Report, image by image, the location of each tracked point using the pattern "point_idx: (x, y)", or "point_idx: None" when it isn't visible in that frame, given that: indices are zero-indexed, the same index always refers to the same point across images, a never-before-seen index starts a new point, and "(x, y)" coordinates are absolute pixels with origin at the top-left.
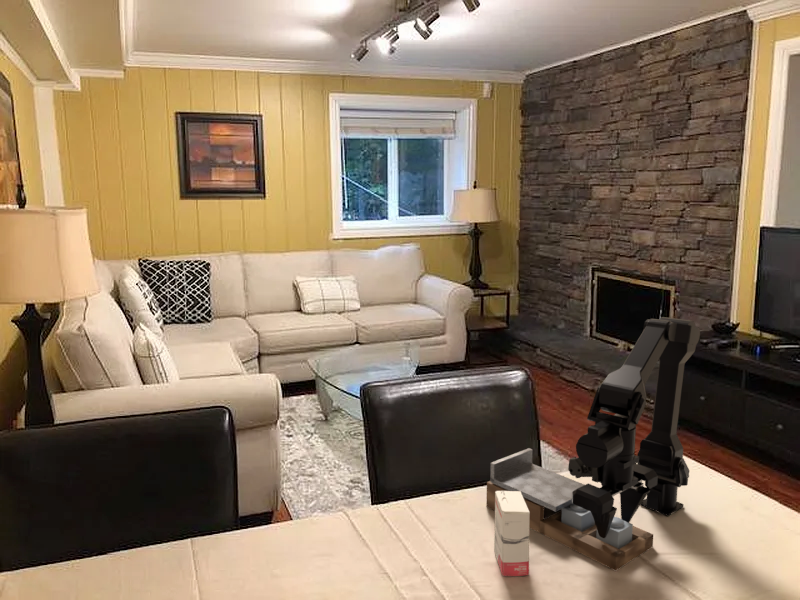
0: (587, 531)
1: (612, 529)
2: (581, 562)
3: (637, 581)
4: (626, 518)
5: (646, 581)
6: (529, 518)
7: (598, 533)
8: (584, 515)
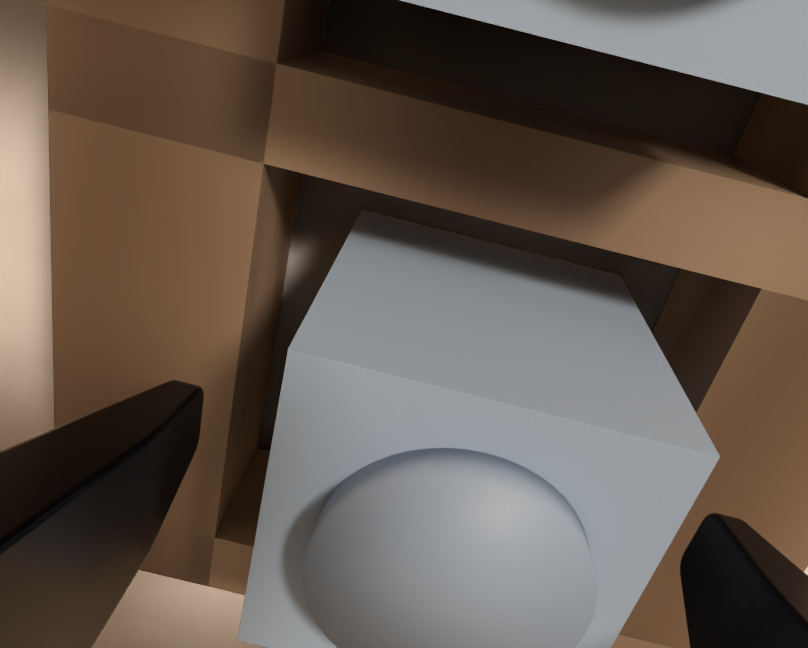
0: (340, 125)
1: (257, 571)
2: (7, 191)
3: (124, 594)
4: (712, 641)
5: (169, 631)
6: None
7: (151, 388)
8: (458, 11)
